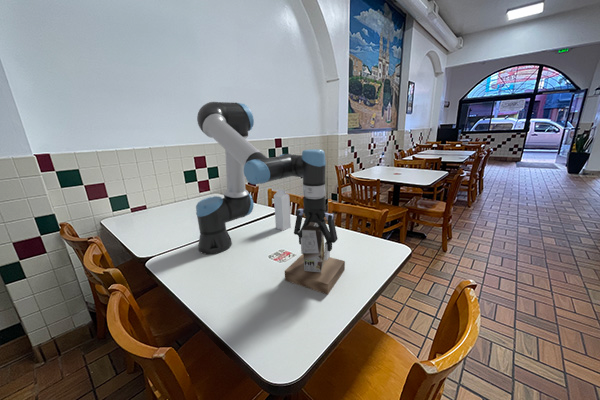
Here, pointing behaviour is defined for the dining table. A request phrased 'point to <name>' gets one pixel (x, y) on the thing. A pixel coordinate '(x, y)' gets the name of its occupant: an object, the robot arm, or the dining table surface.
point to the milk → (282, 210)
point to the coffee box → (313, 247)
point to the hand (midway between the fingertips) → (315, 255)
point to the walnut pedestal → (316, 274)
